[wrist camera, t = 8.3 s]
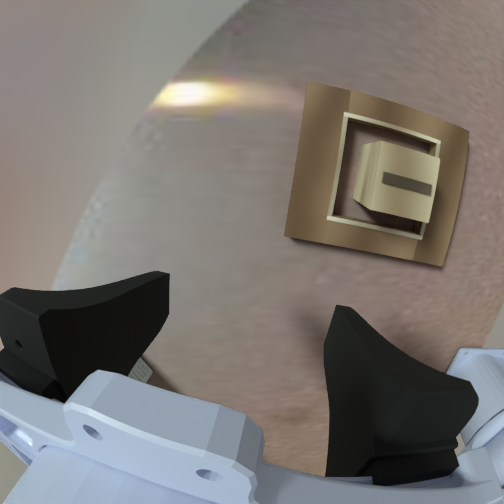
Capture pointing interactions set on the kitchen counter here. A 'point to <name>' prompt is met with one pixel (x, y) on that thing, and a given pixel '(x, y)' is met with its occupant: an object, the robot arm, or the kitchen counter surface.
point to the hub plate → (329, 163)
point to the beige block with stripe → (396, 180)
